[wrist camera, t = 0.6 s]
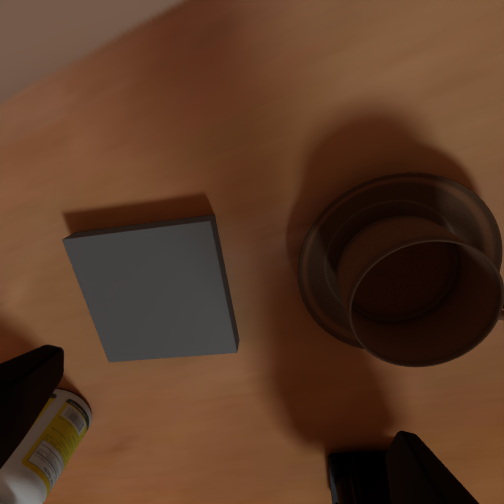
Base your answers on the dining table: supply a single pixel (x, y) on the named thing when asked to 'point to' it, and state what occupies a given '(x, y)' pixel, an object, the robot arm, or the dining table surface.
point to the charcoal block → (156, 288)
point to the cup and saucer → (405, 269)
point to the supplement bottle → (45, 450)
